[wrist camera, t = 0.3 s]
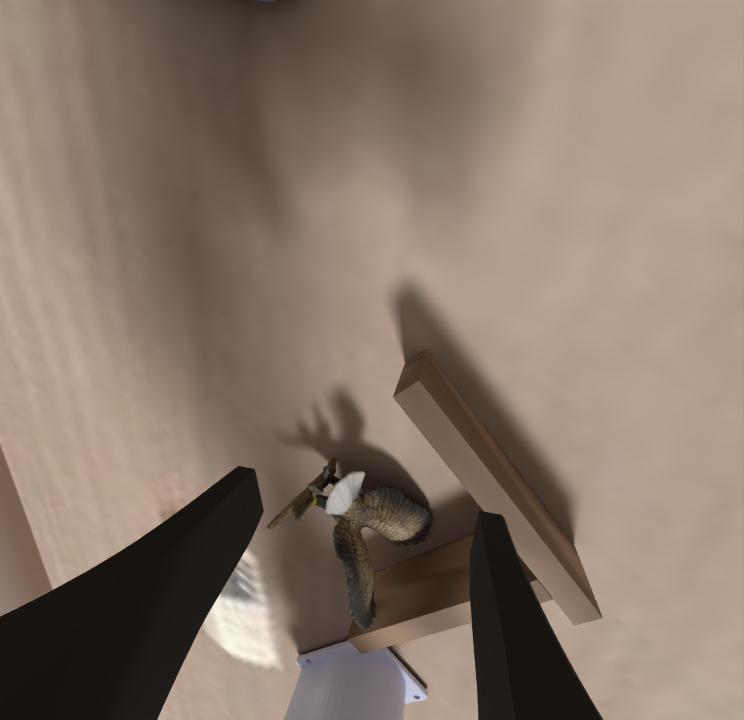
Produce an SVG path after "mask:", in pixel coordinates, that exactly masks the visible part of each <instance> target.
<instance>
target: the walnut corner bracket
mask: <svg viewBox="0 0 744 720" xmlns="http://www.w3.org/2000/svg"><path fill="white" fill-rule="evenodd" d="M393 398H394V399H395V400H396V401H397V403H398V404H399V405H400V406H401V408H402V409H403V410H404V411H405V413H406V414H407V415H408V416H409V418H410V419H411V420H412V422H413V423H414V424H415V425H416V427H417V428H418V429H419V430H420V432H421V433H422V434H423V435H424V437H425V438H426V439H427V440H428V442H429V443H430V444H431V445H432V447H433V448H434V449H435V450H436V452H437V453H438V454H439V456H440V457H441V458H442V459H443V461H444V462H445V463H446V464H447V466H448V467H449V468H450V469H451V471H452V472H453V473H454V474H455V476H456V477H457V478H458V479H459V481H460V482H461V483H462V484H463V486H464V487H465V488H466V489H467V491H468V492H469V493H470V495H471V496H472V497H473V498H474V500H475V501H476V502H477V503H478V505H479V506H480V507H481V508H482V510H483V511H484V512H490V513H495V514H501V515H502V516H503V517H504V518H505V521H506V524H507V527H508V530H509V533H510V535H511V538H512V541H513V543H514V546H515V549H516V551H517V554H518V556H519V558H520V561H521V563H522V566H523V568H524V570H525V573H526V575H527V577H528V579H529V582H530V584H531V586H532V588H533V590H534V592H535V595H536V597H537V599H538V601H539V603H542V602H546V601H549V600H553V599H554V600H555V602H556V603H557V604H558V605H559V607H560V608H561V609H562V610H563V612H564V613H565V614H566V615H567V617H568V618H569V619H570V620H571V622H572V623H573V624H574V625H577V624H581V623H585V622H589V621H593V620H597V619H601V618H602V615H601V612H600V610H599V607H598V605H597V602H596V600H595V597H594V594H593V592H592V589H591V587H590V584H589V582H588V579H587V577H586V574H585V571H584V569H583V566H582V564H581V561H580V559H579V556H578V553H577V551H576V548H575V546H574V544H573V543H572V542H571V540H570V539H569V538H568V537H567V535H566V534H565V533H564V531H563V530H562V529H561V527H560V526H559V525H558V523H557V522H556V521H555V519H554V518H553V517H552V515H551V514H550V513H549V511H548V510H547V509H546V507H545V506H544V505H543V503H542V502H541V501H540V499H539V498H538V497H537V496H536V494H535V493H534V492H533V490H532V489H531V488H530V486H529V485H528V484H527V482H526V481H525V480H524V478H523V477H522V476H521V474H520V473H519V472H518V470H517V469H516V468H515V466H514V465H513V464H512V462H511V461H510V460H509V459H508V457H507V456H506V455H505V453H504V452H503V451H502V449H501V448H500V447H499V445H498V444H497V443H496V441H495V440H494V439H493V437H492V436H491V435H490V433H489V432H488V431H487V429H486V428H485V427H484V425H483V424H482V423H481V421H480V420H479V419H478V418H477V416H476V415H475V414H474V412H473V411H472V410H471V408H470V407H469V406H468V404H467V403H466V402H465V400H464V399H463V398H462V396H461V395H460V394H459V392H458V391H457V390H456V388H455V387H454V386H453V384H452V383H451V382H450V381H449V379H448V378H447V377H446V375H445V374H444V373H443V371H442V370H441V369H440V367H439V366H438V365H437V363H436V362H435V361H434V359H433V358H432V357H431V355H430V354H429V353H428V351H427V350H425V351H423V352H421V353H420V354H418V355H417V356H415V357H414V358H412V359H411V360H409V361H408V362H406V363H405V365H404V368H403V370H402V373H401V376H400V379H399V382H398V384H397V387H396V390H395V393H394V396H393ZM473 538H474V534H472V535H470V536H467V537H465V538H462V539H459V540H457V541H454V542H452V543H449V544H447V545H444V546H442V547H439V548H437V549H434V550H432V551H429V552H427V553H424V554H422V555H419V556H416V557H414V558H411V559H409V560H406V561H404V562H401V563H399V564H396V565H394V566H391V567H389V568H386V569H384V570H381V571H379V572H376V573H374V580H373V592H374V598H373V599H374V601H375V604H376V608H375V613H376V619H375V620H373V626H370V629H369V630H367V629H366V631H365V632H364V631H363V629H361V628H360V626H358V625H357V622H355V618H353V620H352V624H351V628H350V632H349V636H348V640H349V641H350V643H351V644H352V645H353V646H354V647H355V648H356V649H357V650H358V651H359V652H360V653H361V654H364V653H368V652H371V651H375V650H378V649H382V648H385V647H389V646H392V645H396V644H399V643H403V642H406V641H410V640H413V639H417V638H420V637H424V636H427V635H430V634H434V633H437V632H441V631H444V630H448V629H451V628H455V627H458V626H462V625H465V624H469V623H472V619H471V606H470V593H469V591H470V552H471V547H472V543H473ZM552 598H553V599H552Z"/></svg>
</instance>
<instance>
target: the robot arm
mask: <svg viewBox="0 0 744 720" xmlns="http://www.w3.org/2000/svg"><path fill="white" fill-rule="evenodd" d="M263 512H264V510H263V505H262V501H261V496H260V491H259V486H258V482H257V477H256V472H255V469H251V468H246V467H241V466H238V467H237V468H235V469H234V470H232V471H231V472H230V473H229V474H227V475H226V476H225V477H223V478H222V479H221V480H219V481H218V482H217V483H215V484H214V485H213V486H212V487H210V488H209V489H208V490H206V491H205V492H204V493H202V494H201V495H200V496H198V497H197V498H196V499H194V500H193V501H192V502H190V503H189V504H188V505H186V506H185V507H184V508H182V509H181V510H180V511H178V512H177V513H176V514H174V515H173V516H172V517H170V518H169V519H167V520H166V521H164V522H163V523H162V524H160V525H159V526H157V527H156V528H154V529H153V530H152V531H150V532H149V533H147V534H146V535H144V536H143V537H141V538H140V539H139V540H137V541H136V542H134V543H132V544H131V545H129V546H128V547H126V548H125V549H123V550H122V551H120V552H118V553H117V554H115V555H113V556H112V557H110V558H109V559H107V560H105V561H104V562H102V563H100V564H99V565H97V566H95V567H94V568H92V569H90V570H88V571H87V572H85V573H83V574H81V575H79V576H78V577H76V578H74V579H72V580H70V581H68V582H67V583H65V584H63V585H61V586H59V587H58V588H56V589H54V590H52V591H50V592H49V593H47V594H45V595H43V596H41V597H39V598H37V599H35V600H33V601H31V602H29V603H27V604H25V605H23V606H21V607H19V608H17V609H15V610H13V611H11V612H9V613H7V614H5V615H3V616H1V617H0V720H157V719H158V717H159V714H160V712H161V710H162V707H163V705H164V703H165V701H166V699H167V697H168V694H169V692H170V690H171V688H172V686H173V684H174V681H175V679H176V677H177V675H178V673H179V671H180V668H181V666H182V664H183V662H184V660H185V658H186V656H187V654H188V652H189V650H190V648H191V646H192V644H193V642H194V639H195V637H196V635H197V633H198V631H199V629H200V627H201V626H202V624H203V622H204V620H205V618H206V617H207V615H208V613H209V611H210V609H211V608H212V606H213V604H214V603H215V601H216V599H217V598H218V596H219V594H220V593H221V591H222V589H223V588H224V586H225V584H226V582H227V581H228V579H229V577H230V576H231V574H232V572H233V571H234V569H235V567H236V566H237V564H238V562H239V560H240V559H241V557H242V555H243V553H244V552H245V550H246V548H247V547H248V545H249V543H250V541H251V539H252V537H253V535H254V532H255V530H256V528H257V526H258V523H259V521H260V519H261V516H262V514H263ZM469 593H470V606H471V619H472V631H473V643H474V656H475V668H476V680H477V695H478V720H603V718H602V717H601V715H600V714H599V712H598V710H597V709H596V707H595V705H594V704H593V702H592V700H591V699H590V697H589V695H588V693H587V692H586V690H585V688H584V686H583V685H582V683H581V681H580V679H579V678H578V676H577V674H576V672H575V671H574V669H573V667H572V665H571V663H570V662H569V660H568V658H567V656H566V654H565V652H564V651H563V649H562V647H561V645H560V643H559V641H558V639H557V637H556V635H555V633H554V631H553V629H552V628H551V626H550V624H549V622H548V620H547V618H546V616H545V614H544V611H543V609H542V607H541V605H540V603H539V601H538V599H537V597H536V595H535V592H534V590H533V588H532V586H531V584H530V582H529V579H528V577H527V575H526V573H525V570H524V568H523V566H522V563H521V561H520V558H519V556H518V554H517V551H516V549H515V546H514V543H513V541H512V538H511V535H510V533H509V530H508V527H507V524H506V521H505V518H504V517H503V516H502V515H501V514H495V513H490V512H484V511H479V516H478V520H477V525H476V529H475V534H474V538H473V543H472V547H471V552H470V591H469ZM296 663H297V664H298V665H299V666H300V667H301V668H302V669H301V672H300V675H299V678H298V681H297V684H296V687H295V690H294V693H293V696H292V698H291V701H290V704H289V707H288V710H287V713H286V716H285V719H284V720H403V716H404V706H405V704H406V703H411V702H416V701H421V700H425V699H427V696H428V692H427V690H426V689H425V688H424V687H423V686H422V685H421V684H420V683H419V682H418V680H417V679H416V678H415V677H414V676H413V675H412V674H411V673H410V672H409V671H408V670H407V669H406V667H405V666H404V665H403V664H402V663H401V662H400V661H399V660H398V659H397V658H396V657H395V656H394V655H393V653H392V652H391V651H390V650H389V649H388V648H387V647H385V648H382V649H378V650H375V651H371V652H368V653H364V654H361V653H360V652H359V651H358V650H357V649H356V648H355V647H354V646H353V645H352V644H351V643H350V641H349V640H348V641H345V642H342V643H338V644H335V645H332V646H329V647H326V648H322V649H319V650H316V651H313V652H309V653H306V654H303V655H300V656H298V658H297V660H296Z"/></svg>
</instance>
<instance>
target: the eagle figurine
mask: <svg viewBox="0 0 744 720" xmlns="http://www.w3.org/2000/svg"><path fill="white" fill-rule="evenodd" d="M335 473H336V463H335V458H332V459H331V460H330V461H329V463H328V466H325V467H324V468H323V472H322V473H321V474H320V475H319V476H318V477H317V478H316V479H315V480H314V481H313V482H312V483H310V484H309V485H308V487H307V488H306V489H305V490H304V491H303V492H301V493H300V494H299V495H298V496H297V497H296V498H295V499H293V501H292V502H291V503H289V504H288V505H287V506H286V507H285V508H284V509H283V510H282V511H281V512H280V513H279V514H278V515H277V516H276V517H275V518H274V519H273V520H272V521H271V523H270V524H269V525H268V526H267V528H268V529H272V528H274V527H275V526H276V525H278V524H280V523H281V522H283V521H284V520H285V519H286V518H287V517H288V516H290V515H291V514H294V516H295V519H296V521H298V520H299V519H300V518H301V517H302V516H303V514H304V513H305V511H306V510H307V509H308V507H309V506H310V505H313V504H315V505H317V506H318V507H321V508H323V509H325V511H326V513H327V514H331V515H332V516H333V517H334V519H335V520H336V522H338V524H337V525H336V526H335V528H334V532H333V536H334V538H335V539H334V546H335V551H336V553H337V559H338V561H339V562H340V563H342V564H343V566H344V567H345V569H346V574H347V576H348V580H347V585H348V586H349V590H350V594H349V598H350V600H351V603H350V606H349V611H350V612H351V617H352V618H355V622H357V625H358V626H360V628H361V629H363V631H364V632H365V631H366V629H367V630H369V629H370V626H373V620H375V619H376V613H375V608H376V604H375V601H374V599H373V598H374V592H373V580H374V573H373V567H372V563H371V560H370V556H369V553H368V551H367V548H366V546H365V543H364V541H363V539H362V535H361V529H362V528H363V527H369V528H371V529H373V530H375V531H377V532H378V533H380V534H382V535H383V536H385V537H387V538H389V539H390V540H391V541H392V542H393V543H394V544H395V545H397V546H401V545H402V544H403V545H407V546H408V545H410V544H411V543H413V544H416V545H417V544H419V542H420V541H425V540H426V536H428V535H429V534H430V531H429V529H428V528H430V527H432V524H431V523H430V522H432V520H433V518H432V516H431V514H430V512H429V511H428V510H426V508H425V507H422V508H421V506H420V505H418V504H417V503H412V501H411V500H409V499H408V498H407V497H403V493H401V492H400V491H399V490H398V489H395V488H393V487H388V486H386V485H384V486H379V487H378V488H377V489H376V490H372V491H370V493H369V494H368V493H363V494H360V489H361V486H362V482H363V479H364V476H365V472H363V471H358V472H354V471H352V472H350V473H348V475H347V476H345V477H343V478H342V479H341V480H340V479H339V478H337V477H335V476H334V474H335ZM328 483H329V484H333V488H332V490H331V492H330V494H329V497H327V496H323V495H321V494H323V488H324V487H326V486H327V485H328Z"/></svg>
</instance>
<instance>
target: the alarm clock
mask: <svg viewBox="0 0 744 720" xmlns="http://www.w3.org/2000/svg"><path fill="white" fill-rule="evenodd" d="M255 1H263V2H271V3H272V2H275V1H278V0H255Z"/></svg>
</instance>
